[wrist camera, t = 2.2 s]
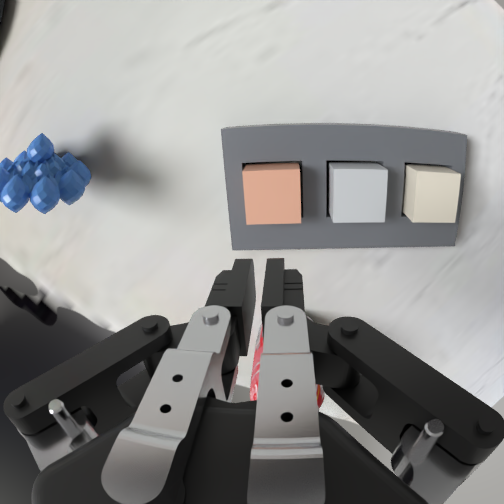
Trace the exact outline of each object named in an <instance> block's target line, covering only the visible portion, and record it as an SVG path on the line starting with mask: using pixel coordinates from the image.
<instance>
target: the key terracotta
mask: <svg viewBox="0 0 504 504" xmlns="http://www.w3.org/2000/svg"><path fill="white" fill-rule="evenodd" d="M242 175H243V187H244V200H245V212H246V225H253V224H293V223H301V191H300V168H299V163H270V164H248V165H246V166H245V168H244V169H243V171H242Z"/></svg>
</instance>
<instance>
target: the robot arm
mask: <svg viewBox="0 0 504 504" xmlns="http://www.w3.org/2000/svg"><path fill="white" fill-rule="evenodd" d="M255 302H256V290H255V277H254V264H253V259H235V262H234V265H233V268H232V270H223V271H222V272H221V273H220V274H219V275H218V276H216V279H215V281H214V285H213V286H212V290H211V292H210V294H209V297H208V299H207V302H206V305H205V307H203V308H200V309H198V310H197V311H196V312H194V314H193V315H192V317H191V319H190V321H189V322H188V323H184V324H179V325H173V326H170V324H169V321H168V319H166V318H165V317H163V316H159V315H151V316H147V317H144V318H142V319H140V320H138V321H136V322H134V323H133V324H131V325H129V326H127V327H126V328H124V329H122V330H120V331H118V332H117V333H115V334H113V335H111V336H110V337H108V338H106V339H104V340H103V341H101V342H99V343H97V344H95V345H94V346H92V347H90V348H89V349H87V350H85V351H83V352H81V353H80V354H78V355H76V356H74V357H72V358H71V359H69V360H68V361H65V362H64V363H62V364H60V365H58V366H56V367H55V368H53V369H51V370H49V371H48V372H46V373H44V374H42V375H41V376H39V377H37V378H35V379H33V380H32V381H30V382H28V383H26V384H25V385H23V386H21V387H19V388H17V389H16V390H14V391H12V392H11V393H10V394H9V395H8V396H7V398H6V400H5V402H4V407H3V408H4V413H5V414H6V415H7V417H8V418H9V419H10V420H11V422H12V423H13V424H14V425H15V426H16V428H17V429H18V431H19V432H20V434H21V435H22V436H23V437H24V438H25V439H26V440H27V443H28V445H29V447H30V449H31V451H32V454H33V456H34V458H35V460H36V462H37V464H38V466H39V468H40V470H41V473H40V474H39V475H38V477H37V478H36V480H35V483H34V485H33V489H32V504H443V503H444V502H445V501H446V500H447V499H448V498H449V497H450V495H451V494H452V493H453V492H454V491H455V490H456V488H457V487H458V486H460V485H461V484H462V483H463V482H464V481H465V480H466V479H467V478H468V477H469V476H470V475H471V474H472V473H473V472H474V471H475V470H476V469H477V468H478V467H479V466H480V465H481V464H482V463H483V461H485V460H486V459H487V457H488V456H489V455H490V454H491V453H492V452H493V451H494V450H495V448H496V447H497V446H498V445H499V444H500V443H501V442H502V440H503V438H504V419H503V418H502V416H501V415H500V414H499V413H498V412H497V411H495V410H494V409H492V408H491V407H490V406H488V405H487V404H485V403H484V402H482V401H481V400H479V399H478V398H476V397H475V396H473V395H472V394H471V393H469V392H468V391H466V390H465V389H463V388H462V387H460V386H459V385H457V384H456V383H454V382H453V381H451V380H450V379H448V378H447V377H446V376H444V375H443V374H441V373H440V372H438V371H437V370H435V369H434V368H432V367H431V366H429V365H428V364H426V363H425V362H423V361H422V360H421V359H419V358H418V357H416V356H415V355H413V354H412V353H410V352H409V351H407V350H406V349H404V348H403V347H401V346H400V345H398V344H397V343H395V342H394V341H392V340H391V339H389V338H388V337H386V336H385V335H384V334H382V333H381V332H379V331H378V330H376V329H375V328H373V327H372V326H370V325H369V324H367V323H366V322H364V321H363V320H361V319H358V318H355V317H341V318H338V319H335V320H334V321H332V322H331V323H330V325H329V326H326V325H321V324H317V323H315V322H313V321H311V320H310V319H309V318H308V317H307V316H306V314H305V310H304V295H303V281H302V275H301V274H300V273H299V271H298V270H297V269H289V270H285V269H284V258H268V259H267V263H266V271H265V279H264V287H263V295H262V303H261V314H262V329H263V353H261V357H260V369H259V382H258V394H257V400H253V401H247V402H240V403H231V401H232V397H233V392H234V388H235V383H236V379H237V374H238V365H237V364H238V361H239V356H247V353H248V347H249V341H250V334H251V328H252V322H253V316H254V309H255ZM141 361H143V362H144V365H145V367H146V369H145V370H143V371H142V372H140V373H139V374H137V375H136V376H134V377H132V378H131V379H129V380H128V381H126V382H125V383H123V384H121V385H120V386H118V387H117V385H116V381H117V378H118V377H119V376H120V374H122V373H124V372H125V371H127V370H129V369H130V368H132V367H133V366H135V365H136V364H138V363H140V362H141ZM316 384H318V385H322V388H323V390H324V392H325V393H326V394H327V395H328V396H329V397H330V398H331V399H332V400H333V401H334V402H335V403H336V404H338V405H339V406H340V407H341V408H342V409H343V410H344V411H345V412H346V413H347V414H348V415H350V416H351V417H352V418H353V419H354V420H355V421H356V422H357V423H358V424H359V425H361V426H362V427H363V428H364V429H365V430H366V431H367V432H368V433H370V434H371V435H372V436H373V437H374V438H375V439H376V440H377V441H378V442H380V443H381V444H382V445H383V446H384V447H385V448H386V449H388V450H389V451H390V452H391V453H392V454H393V455H392V457H391V466H392V469H393V471H394V472H395V474H396V475H397V476H398V477H397V476H396V475H395V474H394V473H393V472H391V471H390V470H389V469H388V468H387V467H386V466H384V464H382V463H381V462H380V461H379V460H378V459H377V458H376V457H374V456H373V455H372V454H371V453H370V452H369V451H368V450H367V449H366V448H364V447H363V446H362V445H361V444H360V443H359V442H358V441H357V440H356V439H355V438H353V437H352V436H351V435H350V434H349V433H348V432H347V431H346V430H345V429H344V428H342V427H341V426H340V425H339V424H338V423H337V422H336V421H334V420H333V419H332V418H330V417H329V416H327V415H325V414H323V413H321V412H318V407H317V395H316Z"/></svg>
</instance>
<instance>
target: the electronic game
mask: <svg viewBox="0 0 504 504" xmlns="http://www.w3.org/2000/svg"><path fill="white" fill-rule="evenodd" d="M4 1H5V0H0V22H1V18H2V13H3V7H4Z"/></svg>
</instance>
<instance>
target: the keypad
mask: <svg viewBox="0 0 504 504" xmlns="http://www.w3.org/2000/svg"><path fill="white" fill-rule="evenodd" d="M221 136H222V147H223V158H224V169H225V180H226V190H227V200H228V211H229V221H230V231H231V240H232V250H273V249H324V248H377V247H433V246H455V241H456V236H457V230H458V224H459V217H460V210H461V203H462V195H463V186H464V176H465V164H466V148H467V135H465V134H461V133H457V132H451V131H443V130H434V129H425V128H415V127H403V126H389V125H371V124H342V123H299V124H269V125H250V126H236V127H226V128H223V129H221ZM326 160H346V161H376V163H378V164H380V165H381V166H383V167H384V168H386V169H387V170H388V179H387V197H386V212H385V222H361V223H333V221H332V219H331V216H330V213H329V208H326ZM273 161H301V180H302V209H301V223H293V224H253V225H246V212H245V200H244V187H243V175H242V171H243V169H244V168H245V166H246V163H250V162H273ZM405 162H408V163H425V164H439V165H441V166H442V167H447V168H449V169H451V170H454V171H456V172H458V173H460V174H461V179H460V189H459V198H458V206H457V213H456V220H455V223H429V222H412V221H411V220H410V219H409V218H408V217H407V216H406V215H405V214H404V213H403V212H402V200H403V187H404V169H405Z"/></svg>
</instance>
